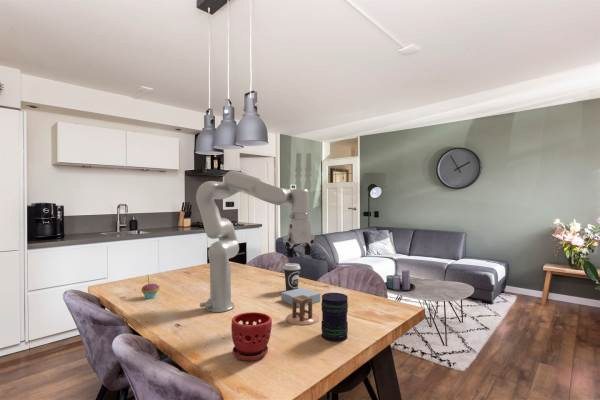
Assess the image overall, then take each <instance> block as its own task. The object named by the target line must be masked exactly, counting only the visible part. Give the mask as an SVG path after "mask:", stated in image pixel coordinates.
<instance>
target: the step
mask: <svg viewBox="0 0 600 400" xmlns="http://www.w3.org/2000/svg"><path fill="white" fill-rule="evenodd" d="M280 293H281V295H280V297H281V299H280V300H281V301H282V302H284V303H287V304H290V305H292V298H293V297H297V296H301V295H305V296H308V297H310V298H312V305H313V304H317V303H321V293H320V292H318V291H317V292H316V291H314V290H310V289H308V288H305V287H300V288H299V287H298V289H294V290H290V291H286V290H285V291H282V292H280ZM307 306H308V303H306V304H305V307H307ZM296 308H300V304H298V303H296Z"/></svg>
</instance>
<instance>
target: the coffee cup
mask: <svg viewBox="0 0 600 400" xmlns="http://www.w3.org/2000/svg"><path fill="white" fill-rule="evenodd" d="M282 268H283V271H284V281H285V282H284V283H285V292H286V291H290V290H294V289H299V280H300V271H301V266H300V264H299V263H295V262H293V263H292V262H289V263H285V264H284V266H283V267H282Z"/></svg>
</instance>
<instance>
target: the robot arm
mask: <svg viewBox="0 0 600 400" xmlns="http://www.w3.org/2000/svg"><path fill="white" fill-rule="evenodd" d="M238 193H243V194H246V195H249V196H252V197H254V198H256V199H258V200H261V201H264V202H265V203H266V202H267V203H269V204H272V205H275V206H290V205H291V206H290V207H291V209H290V214H289V216H288V217H289V218H291V219H290V220H289V224H288V230H287V231H288V232H287V234H286V235H285V236H284V237H282V242H283V244H284V245H285V247H286V249H287V251H286V252H287V253H286V254H287V257H288V258H290V259H292V258H294V248H293V247H294V245H300V244H305V245H304V255H306V256H311V247H312V246H313V243H314V240H315V238H316V236H315V235H314V234H312V226H311V221H310V219H309V199H310V198H309V190H308V189H306V188H294V189H292V188H291V189H289V188H286V187H285V188H284V187H283V188H282V187H278V186H275V185H272V184H269V183H266V182H264V181H262V179H260V178H258V177H255V176H252V175H250V174H249V175H248V174H247V173H245V172H243V171H238V170H230V171H228V172H226V173H225V175H224V177H223V181H215V180H208V181H205V182H203V183H202V184H200V186H199V187H198V188H197V191H196V195H195V199H196V203H197V204H196V205H197V206H198V209H199V212H200V217H201V221H202V224H203V228H204V231H205V234H206V236H207V237H208V238H209V239H211V240H214V239H215V240H216V239H218V240H217V241H215V242H213V243H212V244H211V245H210V246H209V247H208V251H207V252H208V253H207V255H208V260H209V261H208V262H209V298H208V299H207V300H206V301H205V302H204V301H203V302H200V303H199V308H203V307H204V309H206V310H207V311H208V312H212V313H222V312H224V313H225V312H229V311H231V310H233V309H234V308H235V303H233V302H232V269H231V263H230V261H229V259H232V258H234V257H236V256H237V255H238V253H239V251H240V245H239V242H238V240H239V239H238V237H237V233H236V230H235V227H234V224H233V223H232V221H231V220H229V219H228V218H225V217H221V213H220V210H219V207H218V206H217V204H216V202H215V200H225V199H228V198H231V197H232V196H234V195H236V194H238Z"/></svg>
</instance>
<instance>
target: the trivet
mask: <svg viewBox="0 0 600 400" xmlns="http://www.w3.org/2000/svg"><path fill="white" fill-rule="evenodd" d="M298 313H300V311H298ZM285 319H286V320H285V321H286V322H288V323H289V324H292V325H296V326H308V325H309V326H310V325H314V324H316V323H317V322H319V316H318V315H317V314H315V313H312V318H311V319H309V318H308V313H305V315H304V321H302V322H301V321H300V316H298V315H296V318H292V313H290V314H288V315H286V317H285Z"/></svg>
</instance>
